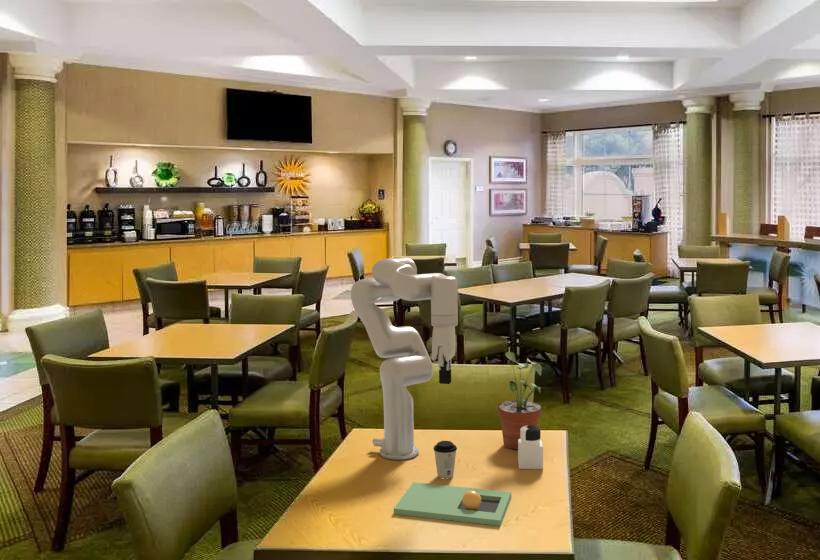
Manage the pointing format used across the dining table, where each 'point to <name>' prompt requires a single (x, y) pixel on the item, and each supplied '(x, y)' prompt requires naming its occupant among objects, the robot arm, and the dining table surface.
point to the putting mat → (452, 504)
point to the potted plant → (518, 408)
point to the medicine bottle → (530, 448)
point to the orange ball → (471, 500)
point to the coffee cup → (445, 458)
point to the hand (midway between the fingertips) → (445, 382)
